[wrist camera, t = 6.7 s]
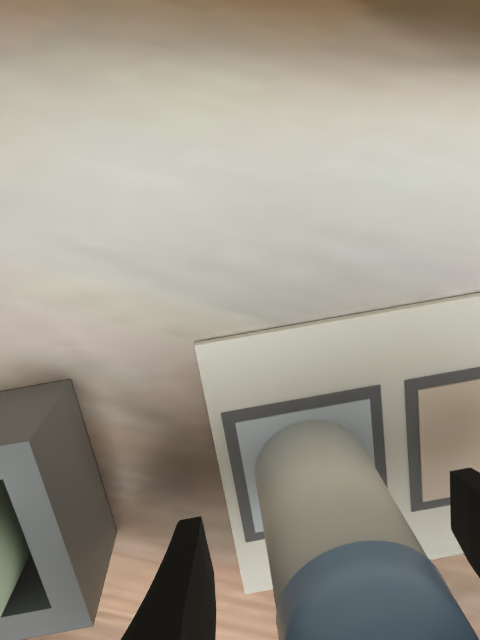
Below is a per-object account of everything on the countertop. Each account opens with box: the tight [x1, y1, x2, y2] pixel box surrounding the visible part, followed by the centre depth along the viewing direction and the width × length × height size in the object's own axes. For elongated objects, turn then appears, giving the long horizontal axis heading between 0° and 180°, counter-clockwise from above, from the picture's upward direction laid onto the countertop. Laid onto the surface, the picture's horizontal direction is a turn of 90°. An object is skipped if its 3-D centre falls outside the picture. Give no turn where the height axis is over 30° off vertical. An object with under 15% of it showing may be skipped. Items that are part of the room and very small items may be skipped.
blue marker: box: [255, 420, 479, 640], centre depth 12 cm, size 4×4×7 cm
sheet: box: [194, 293, 480, 594], centre depth 15 cm, size 10×12×1 cm
